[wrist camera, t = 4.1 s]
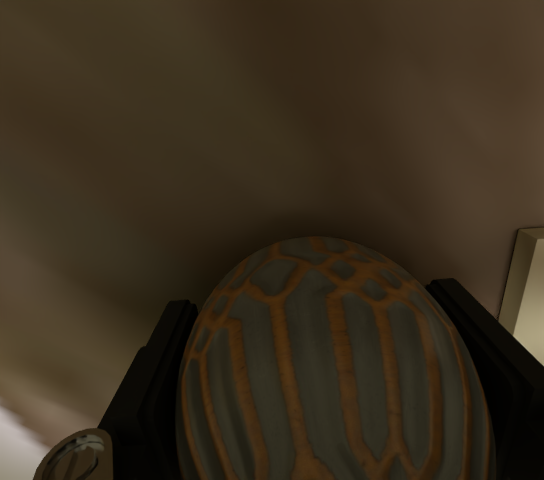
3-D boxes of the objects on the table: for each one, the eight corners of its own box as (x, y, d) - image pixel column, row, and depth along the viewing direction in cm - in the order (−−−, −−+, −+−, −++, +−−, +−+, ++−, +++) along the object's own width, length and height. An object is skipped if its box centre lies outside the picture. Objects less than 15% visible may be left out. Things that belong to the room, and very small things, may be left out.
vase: (443, 290, 11) (857, 751, 3) (308, 397, 13) (363, 841, 5) (300, 160, 10) (448, 478, 2) (170, 307, 12) (-57, 769, 4)
